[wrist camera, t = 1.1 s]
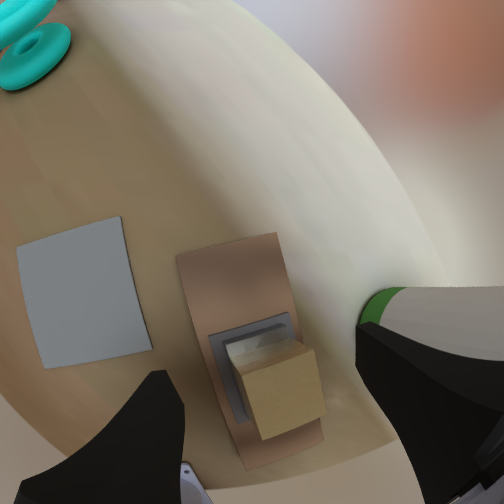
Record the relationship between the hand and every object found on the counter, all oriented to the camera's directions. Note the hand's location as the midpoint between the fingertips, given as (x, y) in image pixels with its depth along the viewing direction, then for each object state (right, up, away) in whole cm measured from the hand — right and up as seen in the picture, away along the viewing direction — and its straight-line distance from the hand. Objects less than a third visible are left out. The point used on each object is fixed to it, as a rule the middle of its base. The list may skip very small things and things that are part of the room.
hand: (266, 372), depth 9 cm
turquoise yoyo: (-25, +26, +8) cm, 37 cm away
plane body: (-1, -4, +11) cm, 12 cm away
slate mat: (-14, +1, +8) cm, 16 cm away
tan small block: (0, -4, +8) cm, 9 cm away
